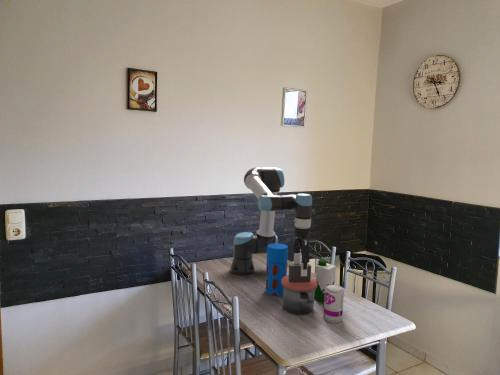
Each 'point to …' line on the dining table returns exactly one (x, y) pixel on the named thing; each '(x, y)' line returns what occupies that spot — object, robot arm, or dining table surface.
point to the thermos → (276, 268)
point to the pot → (298, 301)
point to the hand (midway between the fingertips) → (299, 270)
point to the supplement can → (333, 303)
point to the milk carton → (323, 278)
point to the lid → (299, 279)
